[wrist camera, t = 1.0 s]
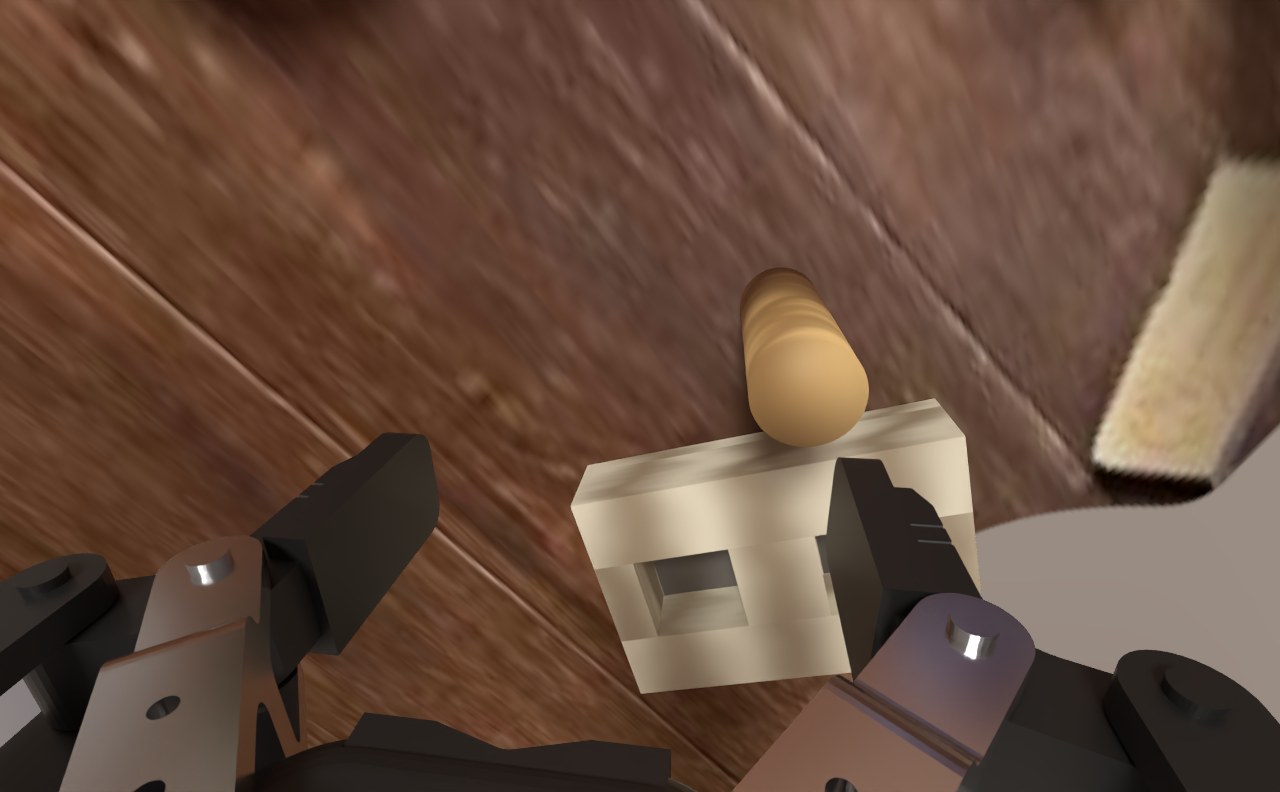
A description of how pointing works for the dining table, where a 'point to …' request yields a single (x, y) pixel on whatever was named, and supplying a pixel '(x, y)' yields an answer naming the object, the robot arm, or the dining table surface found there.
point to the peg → (798, 362)
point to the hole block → (750, 545)
